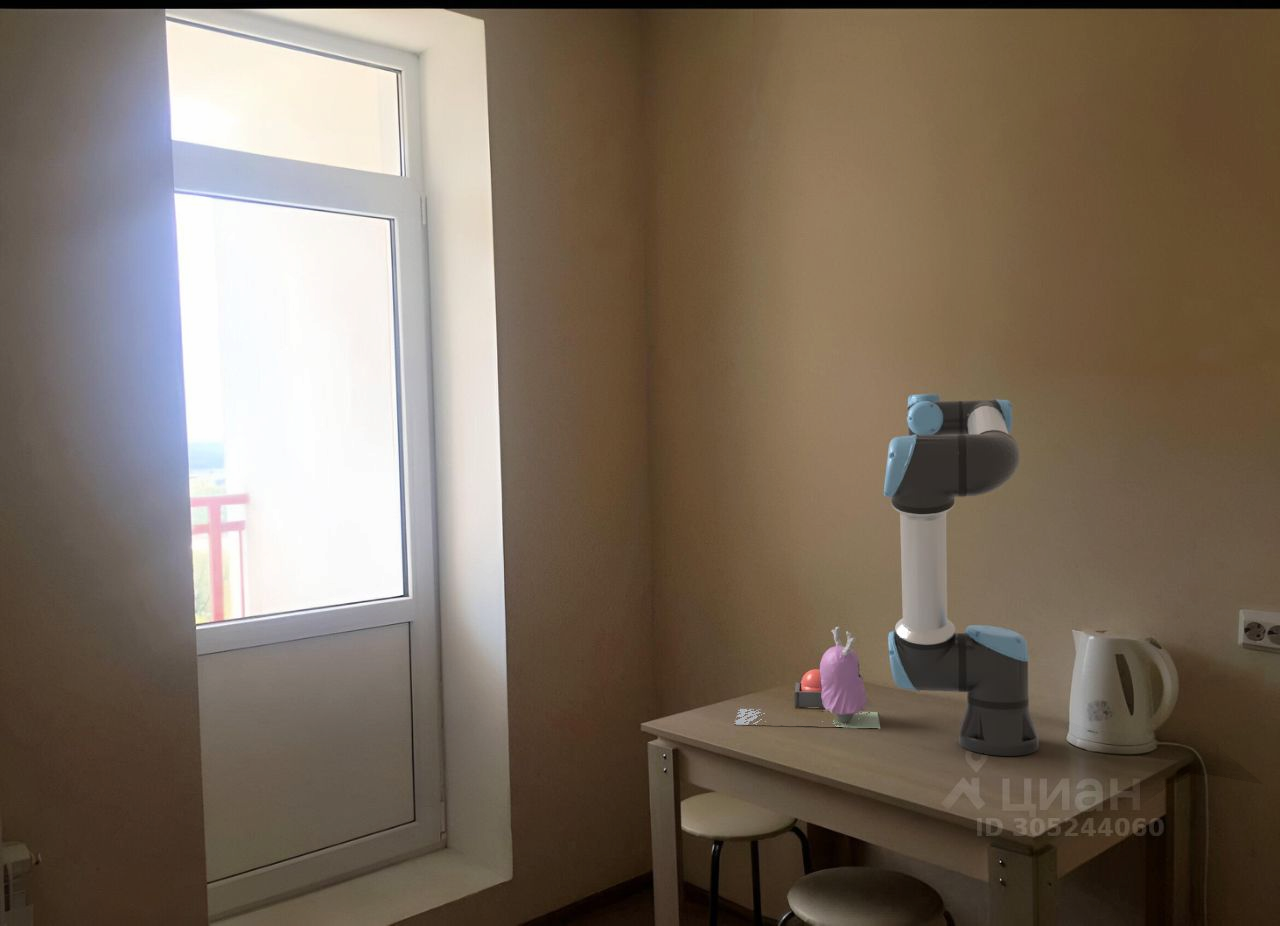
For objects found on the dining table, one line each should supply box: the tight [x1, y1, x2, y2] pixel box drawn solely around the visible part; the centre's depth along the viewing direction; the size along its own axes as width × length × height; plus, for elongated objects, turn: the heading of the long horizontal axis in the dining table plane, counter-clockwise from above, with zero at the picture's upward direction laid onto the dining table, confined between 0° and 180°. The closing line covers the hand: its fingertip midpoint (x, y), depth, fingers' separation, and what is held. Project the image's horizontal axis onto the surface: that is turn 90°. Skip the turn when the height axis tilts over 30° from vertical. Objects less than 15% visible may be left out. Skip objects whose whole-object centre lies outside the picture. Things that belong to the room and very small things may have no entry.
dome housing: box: [794, 681, 825, 708], centre depth 246 cm, size 10×10×4 cm
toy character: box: [819, 626, 868, 723], centre depth 231 cm, size 12×10×20 cm
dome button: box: [800, 668, 822, 692], centre depth 246 cm, size 7×7×7 cm
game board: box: [733, 708, 881, 730], centre depth 233 cm, size 13×31×1 cm, turn 80°
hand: (926, 552), depth 246 cm, fingers open, 13 cm apart
